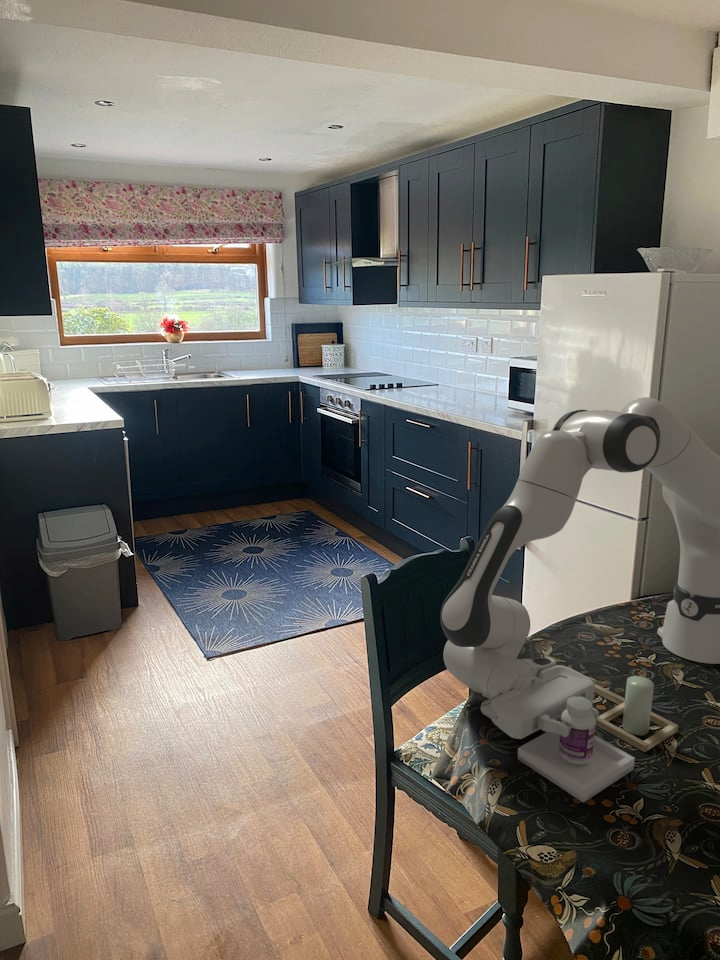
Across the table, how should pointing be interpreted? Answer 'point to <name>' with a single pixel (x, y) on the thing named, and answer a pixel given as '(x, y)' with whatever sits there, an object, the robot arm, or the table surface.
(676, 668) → the table surface
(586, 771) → the grey tray
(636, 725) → the sage vial
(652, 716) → the light wood flat frame
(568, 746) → the pill bottle
